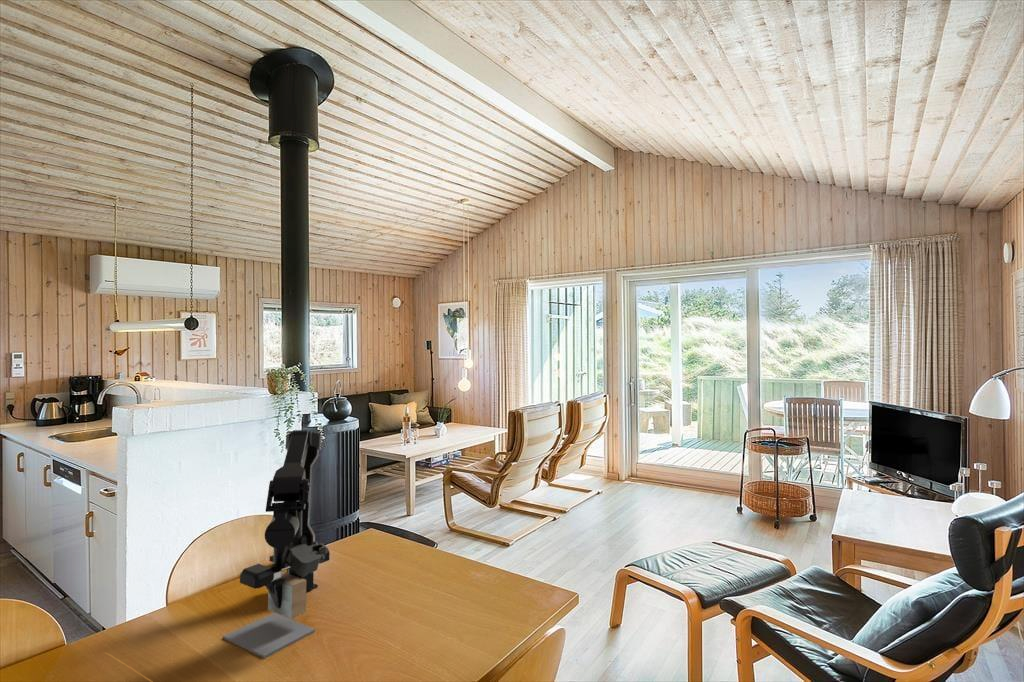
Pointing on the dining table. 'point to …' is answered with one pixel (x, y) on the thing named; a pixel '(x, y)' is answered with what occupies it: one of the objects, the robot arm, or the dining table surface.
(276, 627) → the rubber mat
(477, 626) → the dining table surface
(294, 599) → the light brown wooden block
